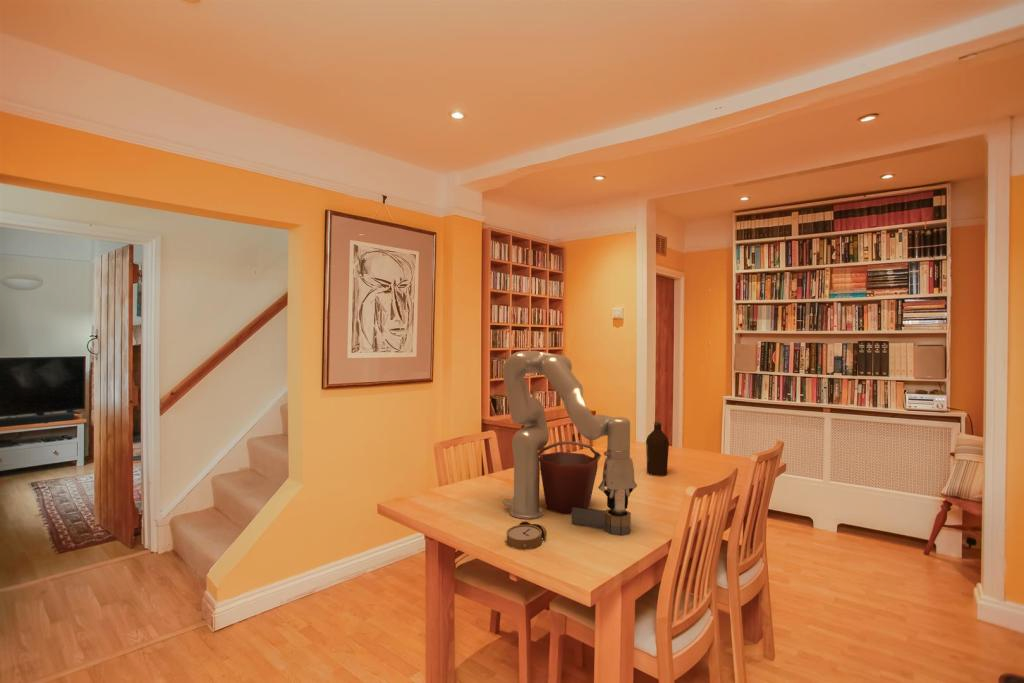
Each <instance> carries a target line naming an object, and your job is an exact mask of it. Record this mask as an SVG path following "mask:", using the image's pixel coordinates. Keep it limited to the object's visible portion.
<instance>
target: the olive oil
mask: <svg viewBox="0 0 1024 683" xmlns="http://www.w3.org/2000/svg"><path fill="white" fill-rule="evenodd" d="M653 424H654V425H653V431H652V432H650V433H649V434H648V436H647V437H646V440H645V446H646V447H645V449H646V452H645V453H646V473H647V474H648V473H649V474H648V475H650V474H652V475H651V476H653V475H665V476H667V475H668V461H669V449H670V448H669V446H670V442H669V438H668V437H667V435H666V433H664V431H663V430H662V422H661V421H654V423H653ZM666 474H667V475H666Z"/></svg>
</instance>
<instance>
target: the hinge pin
mask: <svg viewBox="0 0 1024 683" xmlns="http://www.w3.org/2000/svg"><path fill="white" fill-rule="evenodd" d="M613 498H614V510H612V513H611V515H614V516H625V489H619V490H614V494H613Z"/></svg>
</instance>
